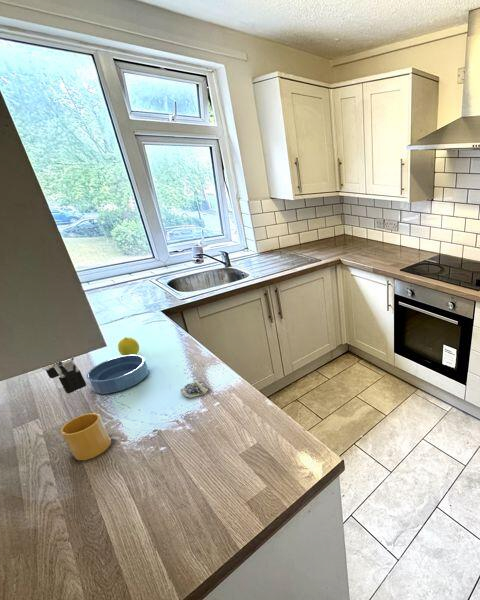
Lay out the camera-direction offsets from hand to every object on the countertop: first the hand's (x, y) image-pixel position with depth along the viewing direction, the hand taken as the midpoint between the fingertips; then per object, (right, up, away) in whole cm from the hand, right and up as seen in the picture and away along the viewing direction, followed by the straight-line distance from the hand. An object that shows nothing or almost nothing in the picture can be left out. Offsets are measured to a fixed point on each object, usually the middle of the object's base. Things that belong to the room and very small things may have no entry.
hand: (68, 381), depth 71 cm
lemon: (-22, -3, +45) cm, 50 cm away
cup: (-3, -18, +9) cm, 20 cm away
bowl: (-16, -8, +33) cm, 37 cm away
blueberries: (+10, -10, +28) cm, 32 cm away
